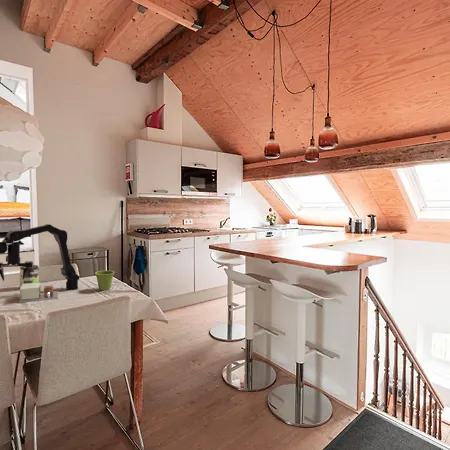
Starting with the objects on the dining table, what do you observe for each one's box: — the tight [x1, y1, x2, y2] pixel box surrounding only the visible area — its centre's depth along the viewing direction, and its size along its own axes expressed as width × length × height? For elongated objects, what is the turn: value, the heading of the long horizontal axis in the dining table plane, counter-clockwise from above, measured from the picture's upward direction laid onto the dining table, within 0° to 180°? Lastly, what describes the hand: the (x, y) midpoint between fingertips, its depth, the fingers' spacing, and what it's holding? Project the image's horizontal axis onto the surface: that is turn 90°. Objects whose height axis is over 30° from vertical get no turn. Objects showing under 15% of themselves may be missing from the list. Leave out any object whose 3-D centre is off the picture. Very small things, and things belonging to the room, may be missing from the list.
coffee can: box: [19, 264, 40, 287], centre depth 201 cm, size 10×10×14 cm
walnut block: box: [43, 284, 54, 296], centre depth 183 cm, size 4×4×5 cm
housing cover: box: [19, 282, 42, 300], centre depth 178 cm, size 9×13×6 cm
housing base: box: [18, 290, 59, 304], centre depth 181 cm, size 19×13×4 cm
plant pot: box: [95, 270, 115, 291], centre depth 200 cm, size 12×12×11 cm
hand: (13, 280), depth 174 cm, fingers open, 9 cm apart
